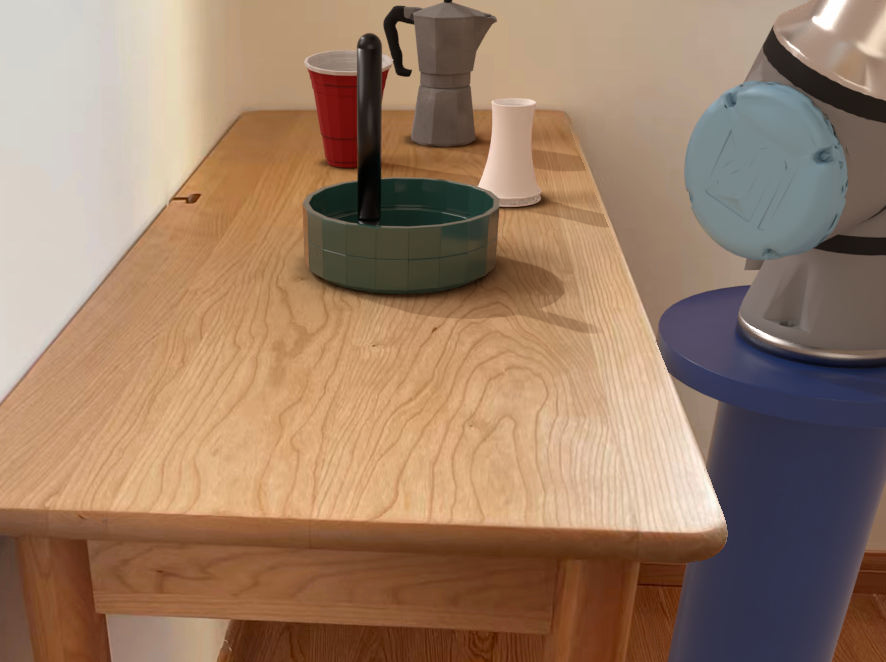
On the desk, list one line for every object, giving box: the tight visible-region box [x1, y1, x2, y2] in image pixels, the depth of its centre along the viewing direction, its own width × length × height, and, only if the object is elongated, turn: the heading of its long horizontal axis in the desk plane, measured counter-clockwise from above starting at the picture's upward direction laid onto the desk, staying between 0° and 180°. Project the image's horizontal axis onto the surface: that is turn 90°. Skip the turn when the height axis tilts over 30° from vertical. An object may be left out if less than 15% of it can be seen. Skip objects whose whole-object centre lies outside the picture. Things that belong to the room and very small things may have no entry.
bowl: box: [302, 176, 500, 295], centre depth 107 cm, size 18×18×6 cm
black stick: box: [356, 32, 383, 226], centre depth 103 cm, size 4×4×19 cm
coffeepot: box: [382, 0, 498, 148], centre depth 149 cm, size 15×9×18 cm, turn 66°
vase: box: [477, 97, 542, 208], centre depth 125 cm, size 8×8×10 cm
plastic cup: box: [303, 49, 393, 169], centre depth 140 cm, size 11×11×12 cm
